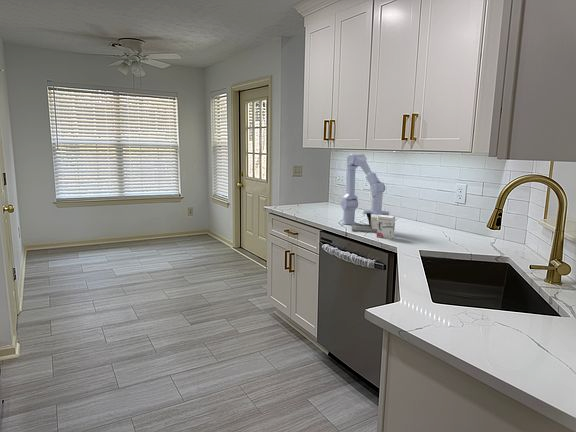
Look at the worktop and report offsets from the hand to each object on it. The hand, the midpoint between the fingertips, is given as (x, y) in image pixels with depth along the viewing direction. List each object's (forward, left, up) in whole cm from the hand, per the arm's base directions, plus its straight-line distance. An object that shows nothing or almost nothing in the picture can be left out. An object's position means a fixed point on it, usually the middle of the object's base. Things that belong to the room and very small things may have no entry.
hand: (375, 226), depth 236 cm
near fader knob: (0, 0, -1) cm, 1 cm away
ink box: (+14, +5, -3) cm, 15 cm away
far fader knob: (-9, 0, -1) cm, 9 cm away
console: (-4, -4, -3) cm, 6 cm away
